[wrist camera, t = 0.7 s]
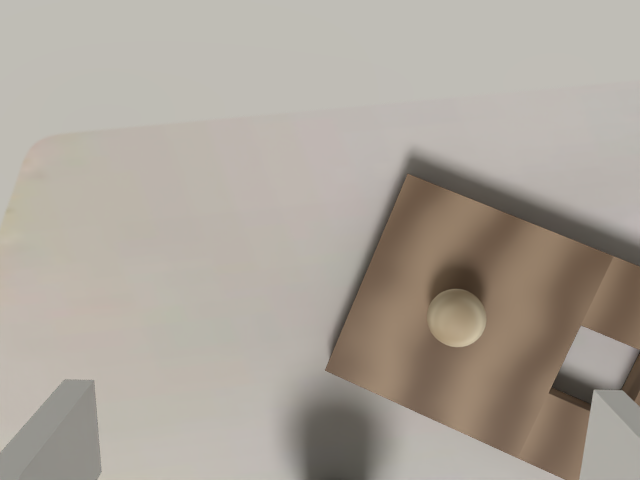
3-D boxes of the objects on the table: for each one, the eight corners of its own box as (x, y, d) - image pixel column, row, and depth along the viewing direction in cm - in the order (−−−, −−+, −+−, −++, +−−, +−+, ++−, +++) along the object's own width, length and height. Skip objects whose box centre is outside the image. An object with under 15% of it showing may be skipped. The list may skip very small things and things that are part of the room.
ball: (491, 298, 41) (500, 308, 37) (469, 348, 41) (475, 363, 37) (439, 276, 41) (442, 284, 37) (417, 325, 42) (418, 338, 38)
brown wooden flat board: (720, 300, 41) (739, 306, 38) (622, 493, 43) (635, 511, 40) (407, 175, 44) (407, 173, 41) (329, 361, 46) (324, 370, 43)
